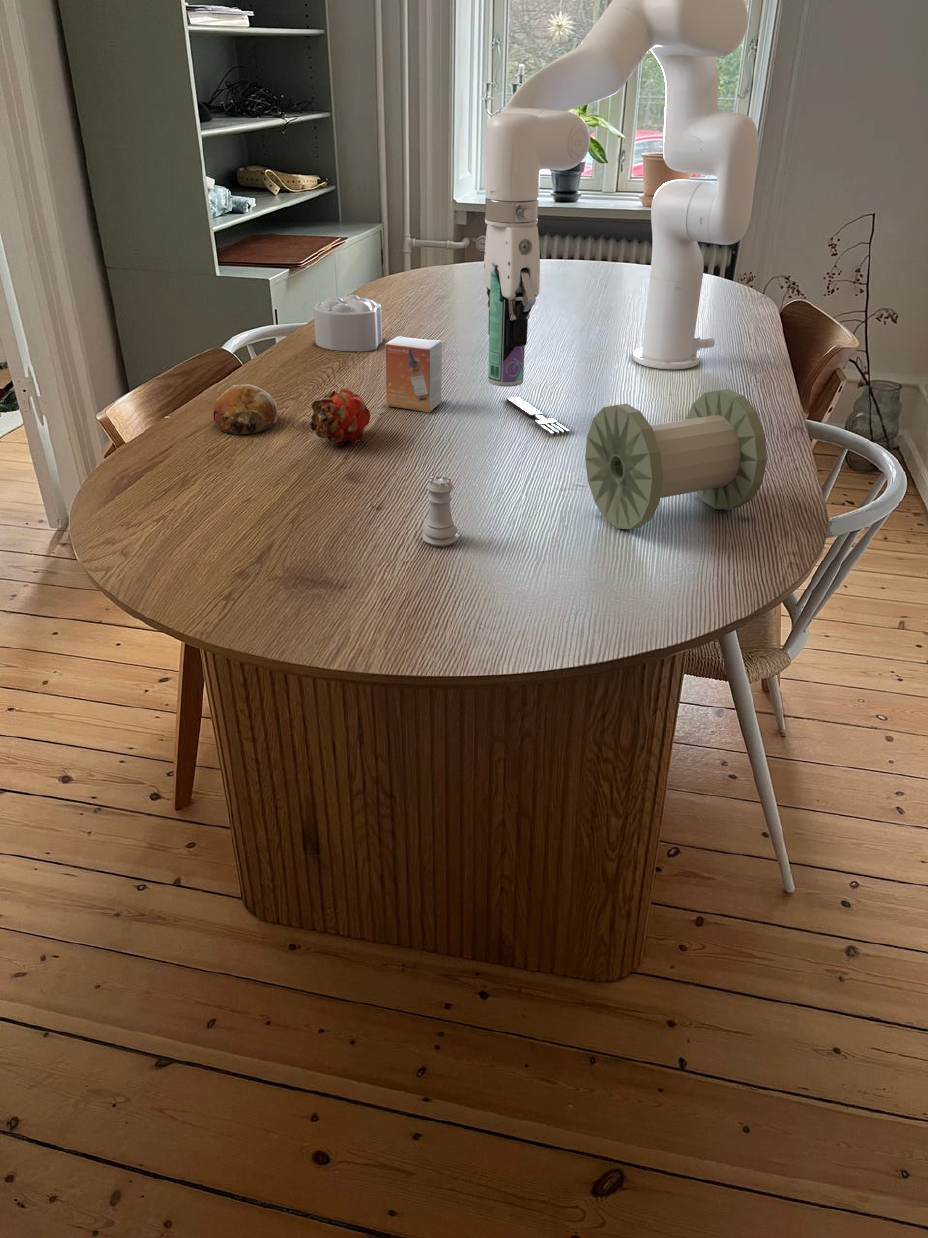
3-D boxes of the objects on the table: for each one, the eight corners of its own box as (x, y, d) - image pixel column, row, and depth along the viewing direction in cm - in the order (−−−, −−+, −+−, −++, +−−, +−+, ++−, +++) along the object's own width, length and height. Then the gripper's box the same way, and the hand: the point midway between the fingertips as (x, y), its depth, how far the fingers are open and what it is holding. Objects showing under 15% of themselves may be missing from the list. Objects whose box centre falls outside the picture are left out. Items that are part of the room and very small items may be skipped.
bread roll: (286, 442, 151) (292, 392, 150) (254, 436, 142) (260, 382, 141) (232, 435, 154) (238, 385, 153) (197, 428, 144) (203, 375, 143)
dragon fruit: (325, 466, 138) (348, 448, 149) (370, 435, 135) (390, 419, 146) (290, 416, 136) (316, 402, 147) (335, 384, 133) (358, 372, 144)
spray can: (520, 387, 143) (526, 249, 133) (485, 385, 144) (488, 247, 134) (525, 377, 148) (531, 242, 137) (491, 374, 149) (494, 240, 138)
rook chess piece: (421, 532, 116) (420, 472, 112) (457, 531, 117) (457, 471, 112) (422, 548, 112) (421, 487, 108) (460, 547, 113) (460, 486, 109)
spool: (643, 548, 113) (658, 429, 105) (581, 500, 125) (590, 390, 117) (754, 525, 119) (776, 411, 111) (685, 482, 130) (700, 375, 123)
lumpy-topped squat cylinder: (372, 352, 183) (370, 306, 179) (308, 348, 185) (305, 303, 181) (385, 338, 192) (383, 294, 188) (324, 335, 194) (321, 291, 189)
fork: (503, 402, 159) (503, 398, 158) (520, 400, 160) (520, 396, 159) (551, 436, 145) (551, 431, 145) (569, 433, 146) (569, 428, 146)
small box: (385, 407, 156) (383, 343, 151) (399, 396, 161) (397, 334, 155) (430, 413, 154) (429, 348, 148) (442, 402, 158) (442, 339, 153)
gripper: (563, 219, 128) (555, 352, 137) (508, 202, 141) (505, 324, 151) (514, 222, 125) (509, 358, 135) (463, 205, 139) (462, 329, 148)
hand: (507, 339), depth 143 cm, fingers closed on spray can, 5 cm apart
